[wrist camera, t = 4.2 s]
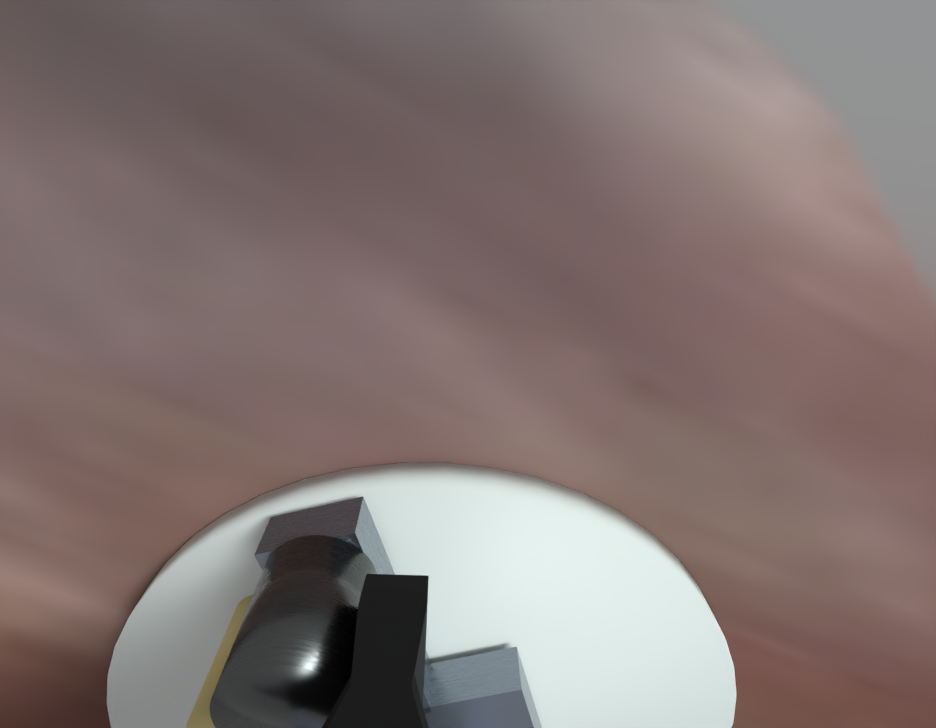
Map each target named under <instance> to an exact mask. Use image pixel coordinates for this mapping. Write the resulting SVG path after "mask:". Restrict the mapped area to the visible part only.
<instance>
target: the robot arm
mask: <svg viewBox="0 0 936 728" xmlns="http://www.w3.org/2000/svg"><path fill="white" fill-rule="evenodd" d="M428 579H429V576H426V575H393V574H366V578H365V581H364V585H363V588H362V592H361V596H360V600H359V604H358V612H357V622H356V632H355V642H354V653H353V663H352V674H351V676H350V678H349V680H348V682H347V684H346V686H345V687H344V689H343V691H342V693H341V694H340V696H339V698H338V700H337V702H336V703H335V705H334V707H333V709H332V710H331V712H330V714H329V716H328V718H327V719H326V721H325V723H324V724H323V726H322V728H429V726H428V723H427V719H426V716H425V712H424V709H423V691H424V671H425V652H426V628H427V603H428Z"/></svg>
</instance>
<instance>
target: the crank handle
mask: <svg viewBox="0 0 936 728" xmlns="http://www.w3.org/2000/svg"><path fill="white" fill-rule="evenodd" d="M254 556H255V558H256V559H257V561H258V563H259V565H260V567H261V569H262V571H263V572H262V574H261V576H260V579H259V581H258V584H257V586H256V589H255V591H254V594H253V596H252V599H251V601H250V604H249V606H248V609H247V611H246V614H245V616H244V619H243V621H242V623H241V626H240V628H239V631H238V633H237V636H236V638H235V641H234V643H233V646H232V648H231V651H230V653H229V656H228V658H227V661H226V663H225V666H224V668H223V670H222V673H221V675H220V678H219V680H218V683H217V685H216V688H215V690H214V693H213V695H212V698H211V701H210V716H211V719H212V722H213V724H214V726H215V728H322V726H323V724H324V723H325V721H326V719H327V718H328V716H329V714H330V712H331V710H332V709H333V707H334V705H335V703H336V702H337V700H338V698H339V696H340V694H341V693H342V691H343V689H344V687H345V686H346V684H347V682H348V680H349V678H350V676H351V674H352V663H353V653H354V642H355V632H356V622H357V612H358V604H359V600H360V596H361V592H362V588H363V585H364V581H365V578H366V574H393V575H395V573H394V570H393V568H392V565H391V563H390V561H389V558H388V556H387V553H386V551H385V548H384V546H383V543H382V541H381V538H380V536H379V533H378V531H377V529H376V526H375V524H374V521H373V519H372V516H371V514H370V511H369V509H368V506H367V504H366V502H365V499H364V497H363V496H362V497H358V498H354V499H349V500H345V501H340V502H336V503H331V504H327V505H322V506H318V507H313V508H309V509H304V510H300V511H296V512H291V513H287V514H282V515H278V516H273V517H271V518H270V520H269V522H268V524H267V527H266V529H265V531H264V534H263V536H262V538H261V540H260V543H259V545H258V547H257V550H256V552H255V554H254ZM423 709H424V712H425V716H426V719H427V723H428V726H429V728H542V726H541V723H540V720H539V717H538V713H537V710H536V707H535V704H534V701H533V697H532V694H531V691H530V688H529V684H528V681H527V678H526V675H525V672H524V668H523V665H522V662H521V659H520V656H519V652H518V649H517V647H512V648H507V649H502V650H497V651H492V652H487V653H482V654H477V655H472V656H467V657H462V658H456V659H451V660H446V661H441V662H436V663H431V661H430V659H429V656H428V654H427V651H426V652H425V671H424V691H423Z"/></svg>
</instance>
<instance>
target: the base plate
mask: <svg viewBox="0 0 936 728" xmlns="http://www.w3.org/2000/svg"><path fill="white" fill-rule="evenodd" d="M362 496H363V497H364V499H365V502H366V504H367V506H368V509H369V511H370V514H371V516H372V519H373V521H374V524H375V526H376V529H377V531H378V533H379V536H380V538H381V541H382V543H383V546H384V548H385V551H386V553H387V556H388V558H389V561H390V563H391V565H392V568H393V570H394V573H395V575H426V576H429V579H428V603H427V628H426V651H427V654H428V656H429V659H430V661H431V663H436V662H441V661H446V660H451V659H456V658H462V657H467V656H472V655H477V654H482V653H487V652H492V651H497V650H502V649H507V648H512V647H517V649H518V652H519V656H520V659H521V662H522V665H523V668H524V672H525V675H526V678H527V681H528V684H529V688H530V691H531V694H532V697H533V701H534V704H535V707H536V710H537V713H538V717H539V720H540V723H541V726H542V728H731V727H732V724H733V721H734V712H735V703H736V684H735V673H734V665H733V662H732V659H731V655H730V652H729V649H728V645H727V642H726V639H725V637H724V635H723V633H722V631H721V629H720V627H719V625H718V623H717V621H716V619H715V617H714V615H713V613H712V611H711V609H710V607H709V605H708V603H707V602H706V600H705V598H704V596H703V594H702V592H701V590H700V588H699V587H698V585H697V583H696V581H695V580H694V579H693V578H692V576H691V575H690V574H689V572H688V571H687V570H686V569H685V567H684V566H683V565H682V564H681V562H680V561H679V560H678V558H677V557H676V556H675V555H674V554H673V553H672V552H671V551H669V550H668V549H667V548H666V547H665V546H664V545H663V544H662V543H661V542H660V541H659V540H657V539H656V538H655V537H654V536H653V535H652V534H651V533H650V532H648V531H647V530H645V529H644V528H642V527H641V526H640V525H638V524H637V523H635V522H634V521H632V520H631V519H629V518H628V517H626V516H625V515H623V514H622V513H620V512H619V511H617V510H615V509H613V508H611V507H609V506H607V505H605V504H603V503H601V502H599V501H597V500H595V499H593V498H591V497H589V496H587V495H585V494H583V493H581V492H578V491H575V490H572V489H569V488H567V487H564V486H561V485H558V484H555V483H552V482H549V481H546V480H544V479H541V478H537V477H533V476H528V475H524V474H519V473H515V472H510V471H506V470H501V469H497V468H491V467H481V466H472V465H463V464H453V463H393V464H384V465H375V466H367V467H358V468H350V469H345V470H341V471H337V472H332V473H328V474H324V475H320V476H315V477H311V478H307V479H303V480H300V481H298V482H295V483H292V484H289V485H286V486H284V487H281V488H278V489H275V490H273V491H270V492H267V493H264V494H262V495H260V496H258V497H256V498H254V499H252V500H250V501H248V502H246V503H244V504H242V505H240V506H238V507H237V508H235V509H233V510H231V511H229V512H227V513H225V514H224V515H222V516H221V517H219V518H218V519H216V520H215V521H214V522H212V523H211V524H209V525H208V526H206V527H205V528H204V529H202V530H201V531H199V532H198V533H196V534H195V535H194V536H193V537H191V538H190V539H189V540H188V541H187V542H186V543H185V544H184V545H183V546H182V547H181V548H180V549H179V550H178V551H177V552H176V553H175V554H174V555H173V556H172V557H171V558H170V559H169V560H168V561H167V562H166V563H165V564H164V566H163V567H162V569H161V570H160V571H159V573H158V574H157V575H156V577H155V578H154V579H153V581H152V582H151V583H150V585H149V586H148V588H147V589H146V591H145V592H144V594H143V596H142V597H141V599H140V600H139V602H138V603H137V605H136V607H135V608H134V610H133V611H132V613H131V615H130V616H129V618H128V620H127V622H126V624H125V626H124V628H123V630H122V632H121V635H120V637H119V639H118V641H117V643H116V645H115V648H114V652H113V656H112V660H111V664H110V668H109V672H108V679H107V708H108V714H109V720H110V725H111V728H215V726H214V724H213V722H212V719H211V716H210V701H211V698H212V695H213V693H214V690H215V688H216V685H217V683H218V680H219V678H220V675H221V673H222V670H223V668H224V666H225V663H226V661H227V658H228V656H229V653H230V651H231V648H232V646H233V643H234V641H235V638H236V636H237V633H238V631H239V628H240V626H241V623H242V621H243V619H244V616H245V614H246V611H247V609H248V606H249V604H250V601H251V599H252V596H253V594H254V591H255V589H256V586H257V584H258V581H259V579H260V576H261V574H262V572H263V571H262V569H261V567H260V565H259V563H258V561H257V559H256V558H255V556H254V554H255V552H256V550H257V547H258V545H259V543H260V540H261V538H262V536H263V534H264V531H265V529H266V527H267V524H268V522H269V520H270V518H271V517H273V516H278V515H282V514H287V513H291V512H296V511H300V510H304V509H309V508H313V507H318V506H322V505H327V504H331V503H336V502H340V501H345V500H349V499H354V498H358V497H362Z"/></svg>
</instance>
